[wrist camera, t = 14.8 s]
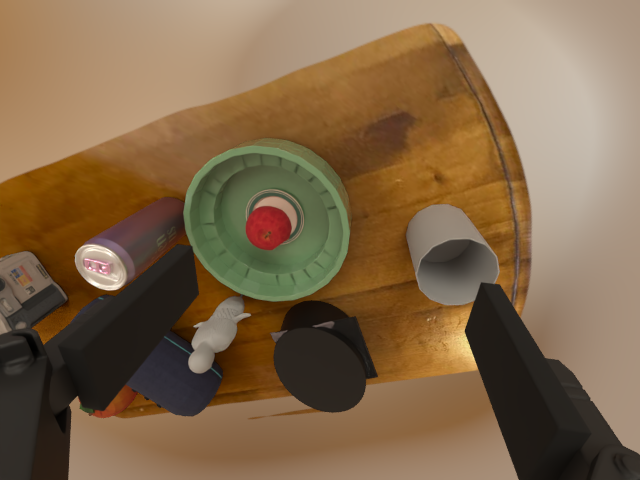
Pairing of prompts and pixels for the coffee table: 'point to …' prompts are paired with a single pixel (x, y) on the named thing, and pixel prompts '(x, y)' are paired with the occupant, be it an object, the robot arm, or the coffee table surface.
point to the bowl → (230, 220)
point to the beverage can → (131, 244)
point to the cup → (449, 255)
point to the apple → (273, 219)
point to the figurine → (216, 333)
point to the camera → (26, 292)
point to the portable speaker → (172, 376)
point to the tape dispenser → (322, 357)
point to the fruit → (114, 404)
